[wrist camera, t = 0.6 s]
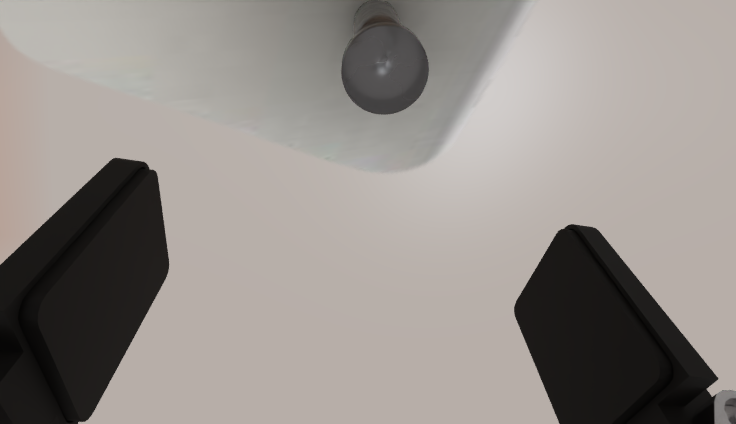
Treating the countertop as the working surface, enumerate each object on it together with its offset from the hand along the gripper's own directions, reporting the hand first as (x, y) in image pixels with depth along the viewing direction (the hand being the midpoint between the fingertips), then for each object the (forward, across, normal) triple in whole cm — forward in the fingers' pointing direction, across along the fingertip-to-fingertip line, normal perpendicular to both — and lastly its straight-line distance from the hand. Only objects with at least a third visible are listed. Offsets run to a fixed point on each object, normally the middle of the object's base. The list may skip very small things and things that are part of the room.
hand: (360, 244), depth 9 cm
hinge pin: (+22, -1, -1) cm, 22 cm away
